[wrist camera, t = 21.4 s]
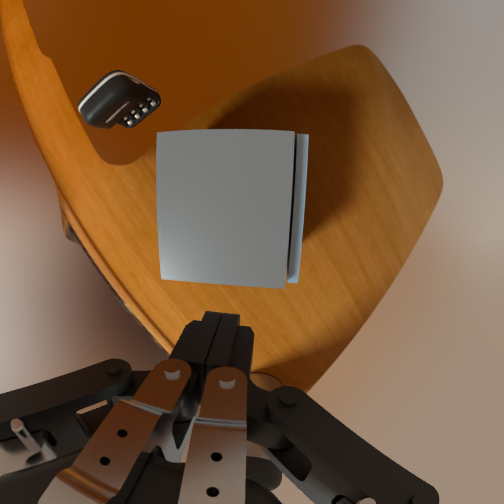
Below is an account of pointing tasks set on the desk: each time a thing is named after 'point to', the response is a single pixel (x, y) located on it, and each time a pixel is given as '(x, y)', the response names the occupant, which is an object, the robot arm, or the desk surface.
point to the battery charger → (118, 101)
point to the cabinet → (224, 205)
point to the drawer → (297, 206)
